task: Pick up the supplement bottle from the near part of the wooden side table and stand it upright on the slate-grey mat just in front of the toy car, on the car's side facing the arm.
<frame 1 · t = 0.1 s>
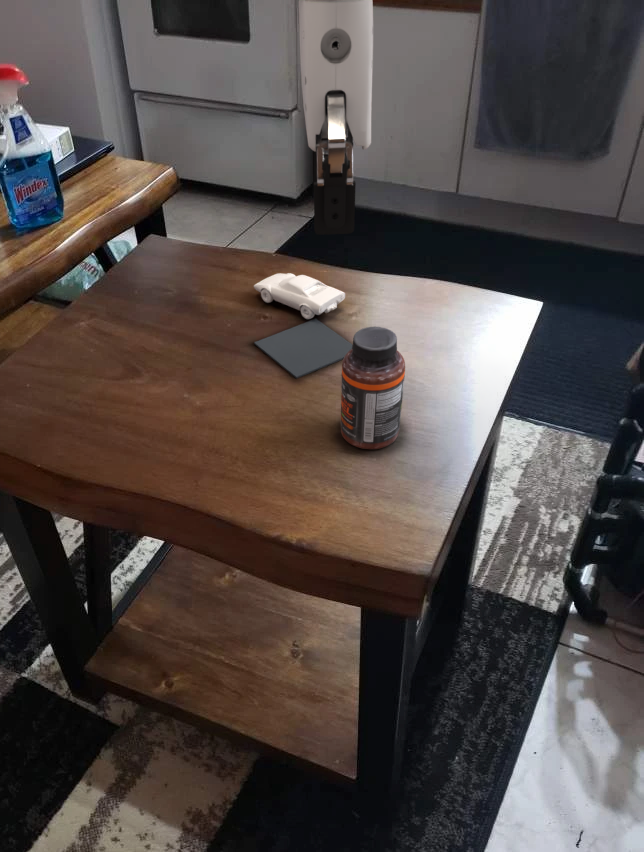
hand: (332, 207, 64), 22 cm above the table, tool pointing down, fingers open, 9 cm apart
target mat: (306, 348, 88), on the table
supplement bottle: (369, 435, 76), on the table
toy car: (298, 304, 96), on the table, touching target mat
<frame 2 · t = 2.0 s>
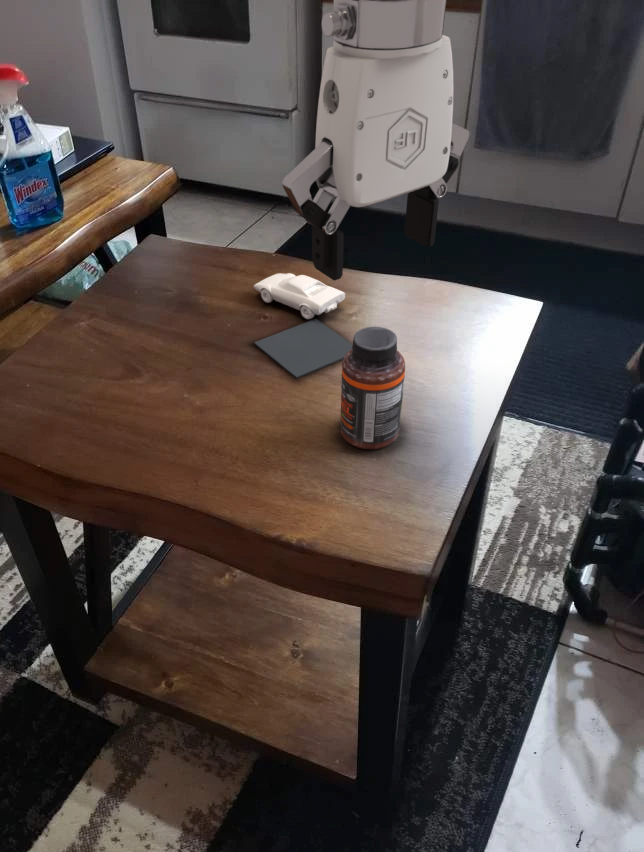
hand: (374, 256, 63), 19 cm above the table, tool pointing down, fingers open, 9 cm apart
nothing on the table moved.
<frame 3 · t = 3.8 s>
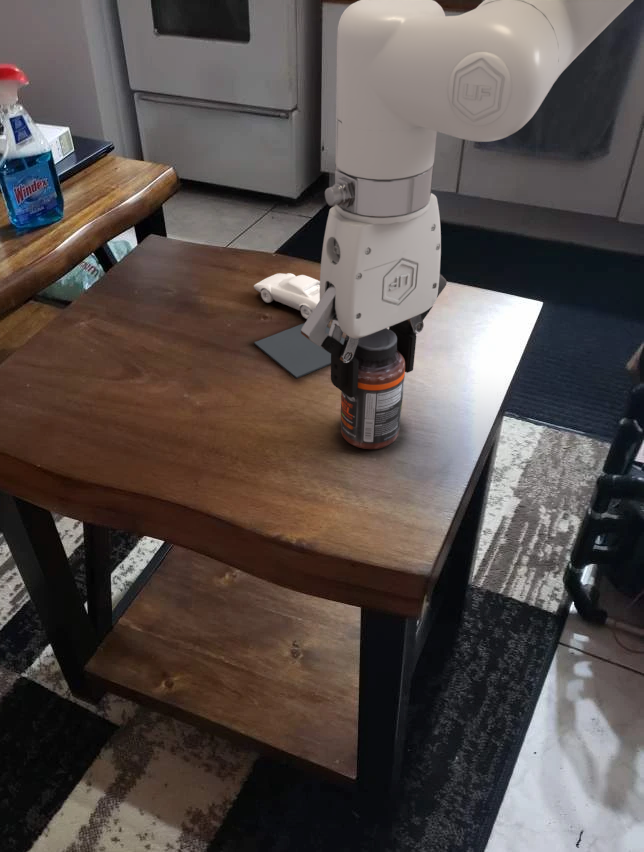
hand: (372, 376, 71), 7 cm above the table, tool pointing down, fingers closed on supplement bottle, 6 cm apart
supplement bottle: (369, 435, 76), on the table, touching gripper
everything else where it was.
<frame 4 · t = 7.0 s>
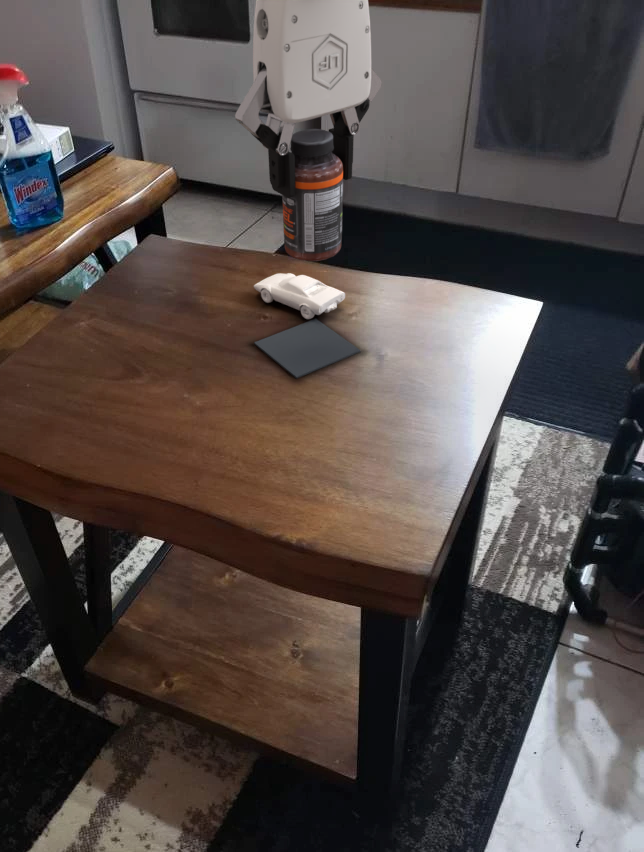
hand: (312, 182, 73), 20 cm above the table, tool pointing down, fingers closed on supplement bottle, 6 cm apart
supplement bottle: (312, 252, 78), point 13 cm above the table, touching gripper
everything else where it was.
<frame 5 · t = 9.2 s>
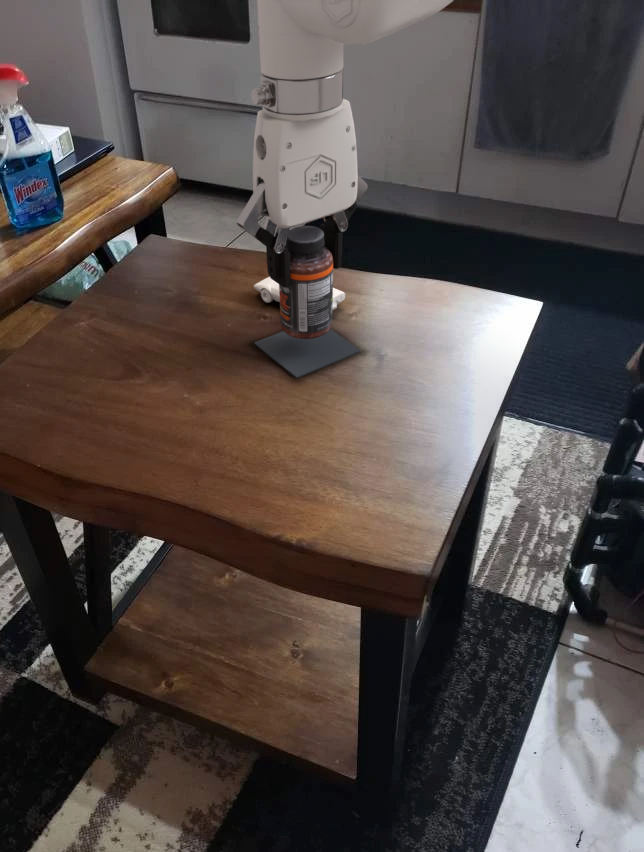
hand: (305, 271, 81), 10 cm above the table, tool pointing down, fingers closed on supplement bottle, 6 cm apart
supplement bottle: (306, 329, 86), point 2 cm above the table, touching gripper
everything else where it was.
when the fingers open (7 cm above the table, at t = 10.4 s): supplement bottle stays where it is, resting on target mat.
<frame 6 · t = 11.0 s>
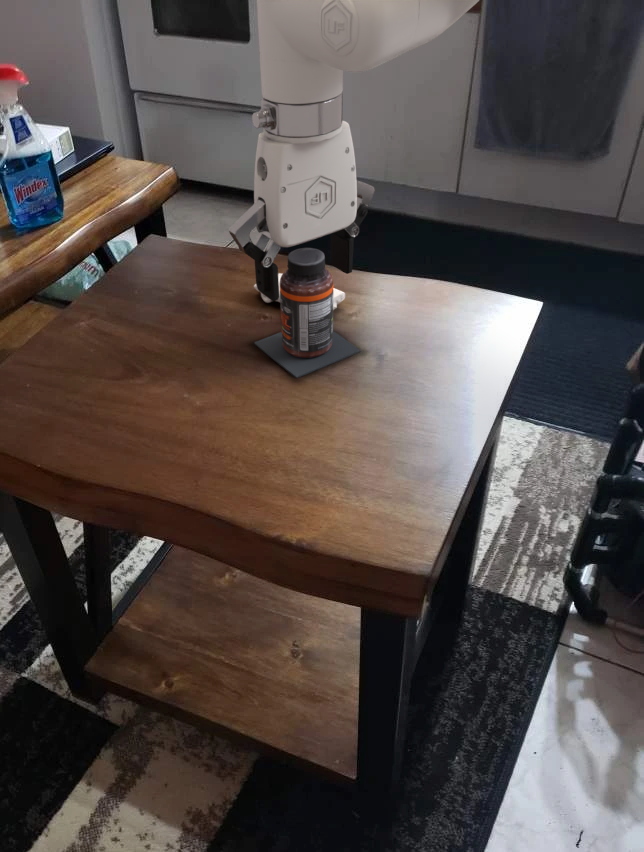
hand: (305, 282, 82), 8 cm above the table, tool pointing down, fingers open, 9 cm apart
supplement bottle: (307, 347, 88), resting on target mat
everything else where it was.
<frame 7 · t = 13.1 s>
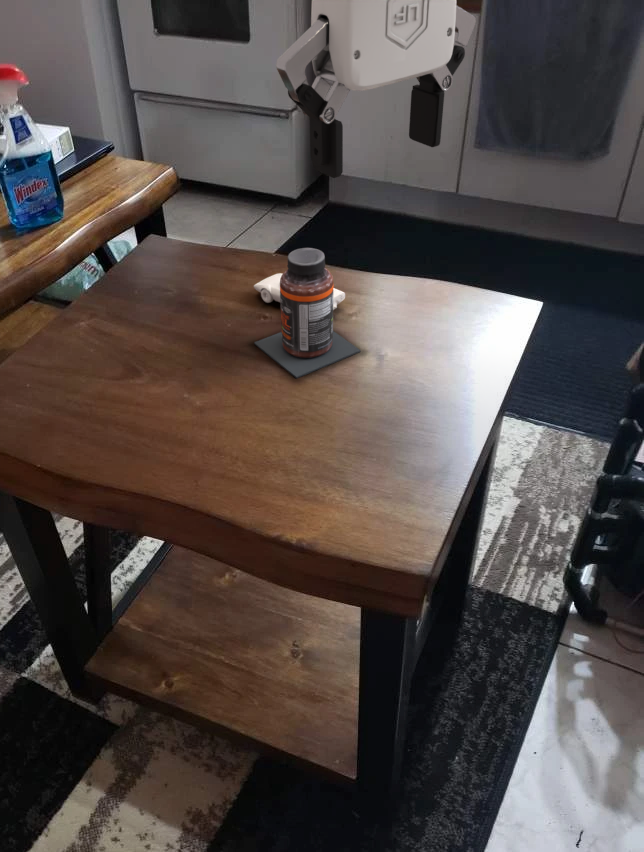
hand: (376, 157, 60), 26 cm above the table, tool pointing down, fingers open, 9 cm apart
nothing on the table moved.
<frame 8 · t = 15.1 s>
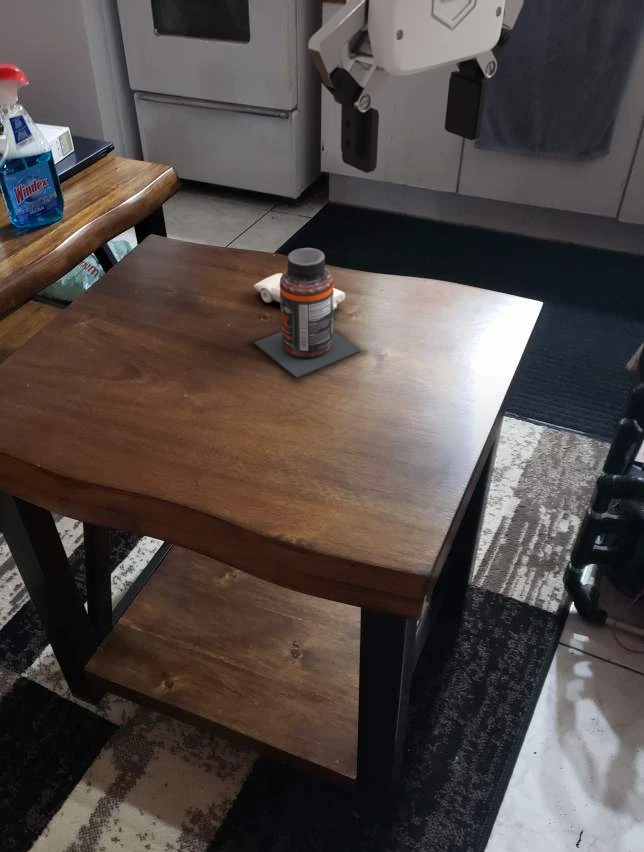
hand: (411, 150, 55), 28 cm above the table, tool pointing down, fingers open, 9 cm apart
nothing on the table moved.
at the end: supplement bottle inside the target area on the table beside the toy car (0.1 cm from its centre), resting on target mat; supplement bottle tilted 0°; the gripper is holding nothing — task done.
